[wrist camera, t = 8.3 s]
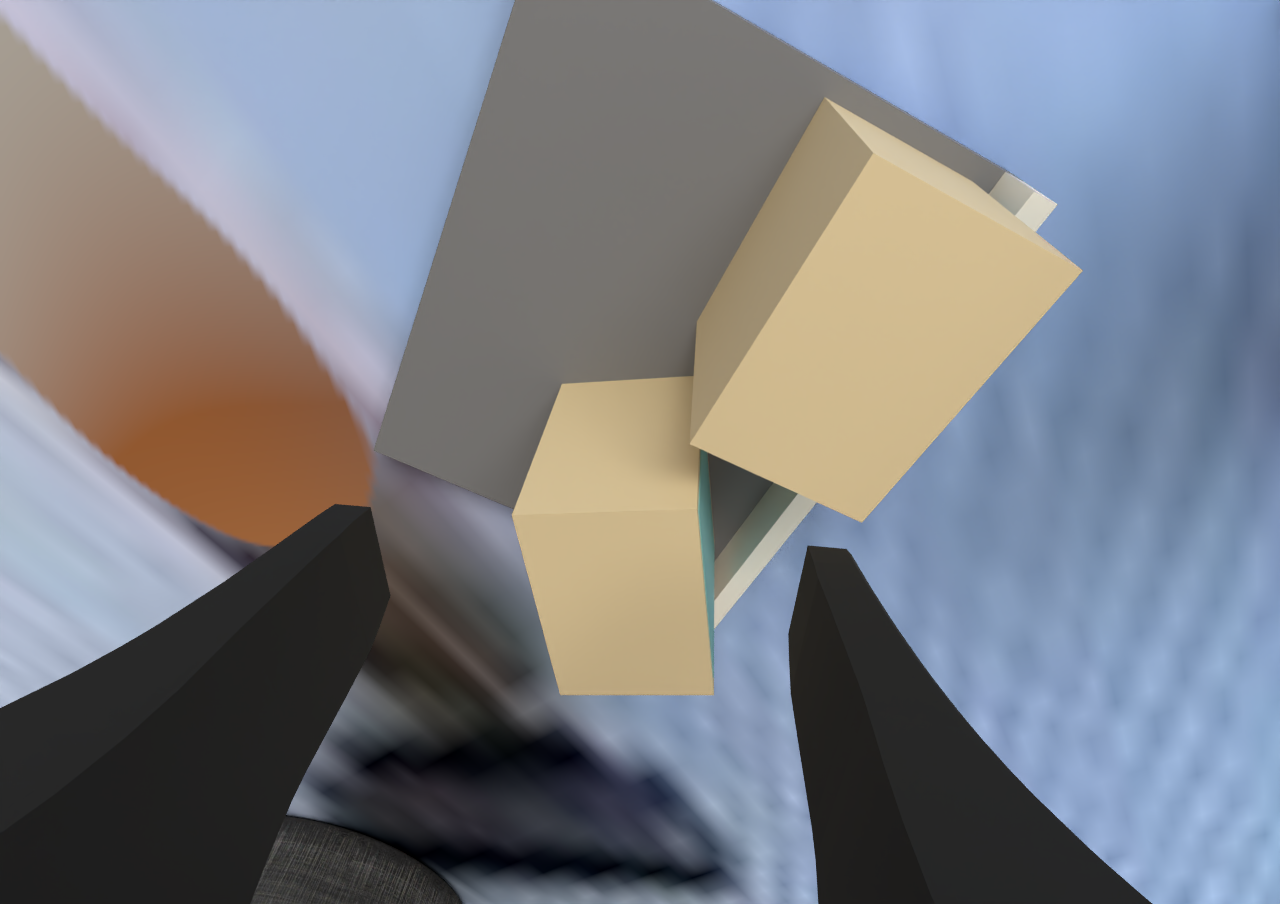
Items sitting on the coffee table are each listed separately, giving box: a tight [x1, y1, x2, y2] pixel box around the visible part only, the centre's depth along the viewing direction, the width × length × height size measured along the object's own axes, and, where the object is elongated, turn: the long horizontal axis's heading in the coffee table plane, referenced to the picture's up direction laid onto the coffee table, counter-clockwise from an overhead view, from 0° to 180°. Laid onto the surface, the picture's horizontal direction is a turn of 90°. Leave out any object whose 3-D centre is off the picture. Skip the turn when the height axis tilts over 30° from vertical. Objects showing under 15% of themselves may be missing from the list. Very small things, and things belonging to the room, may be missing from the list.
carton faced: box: [690, 97, 1083, 522], centre depth 15 cm, size 6×4×6 cm, turn 155°
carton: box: [512, 376, 715, 695], centre depth 19 cm, size 6×4×6 cm, turn 7°
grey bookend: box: [374, 0, 1058, 629], centre depth 19 cm, size 12×15×3 cm
